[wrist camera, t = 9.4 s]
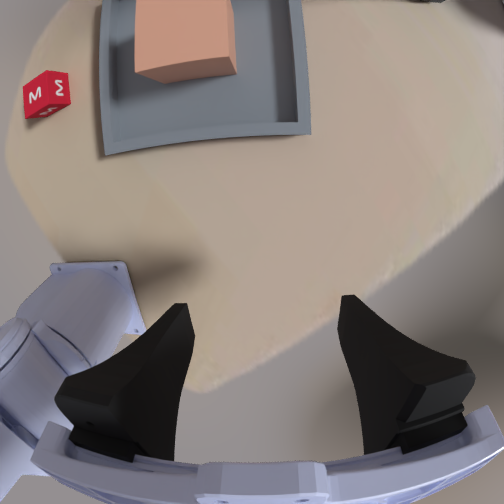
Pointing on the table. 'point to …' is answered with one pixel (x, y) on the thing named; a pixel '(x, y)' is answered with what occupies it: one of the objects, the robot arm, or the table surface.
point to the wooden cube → (184, 39)
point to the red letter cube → (46, 94)
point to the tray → (207, 82)
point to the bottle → (434, 1)
